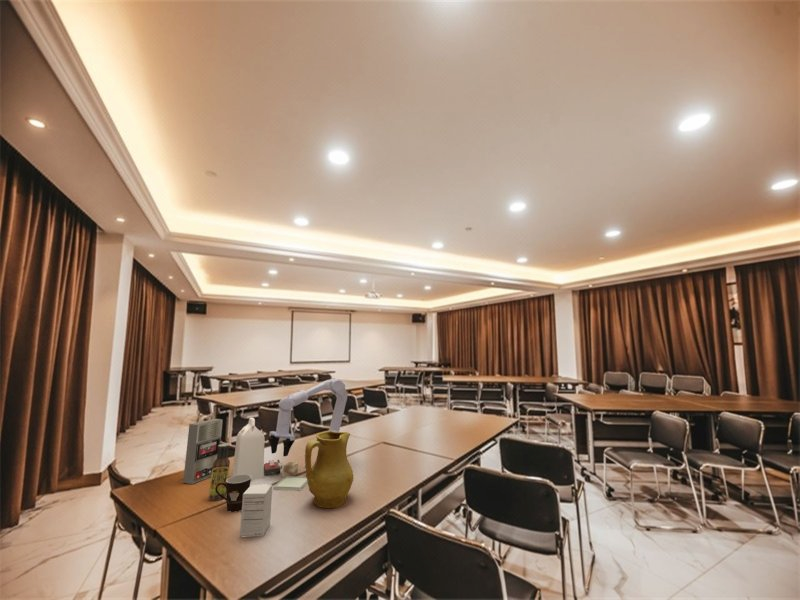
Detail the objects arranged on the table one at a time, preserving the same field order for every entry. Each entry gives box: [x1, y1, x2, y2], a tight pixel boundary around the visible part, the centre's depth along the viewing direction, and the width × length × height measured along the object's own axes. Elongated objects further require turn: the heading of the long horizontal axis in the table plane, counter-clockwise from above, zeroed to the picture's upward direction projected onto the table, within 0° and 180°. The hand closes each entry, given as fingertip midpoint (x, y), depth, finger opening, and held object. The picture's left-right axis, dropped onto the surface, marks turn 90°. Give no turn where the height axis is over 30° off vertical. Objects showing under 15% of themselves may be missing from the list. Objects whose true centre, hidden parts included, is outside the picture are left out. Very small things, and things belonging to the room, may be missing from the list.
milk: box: [231, 417, 265, 481], centre depth 152 cm, size 12×12×26 cm
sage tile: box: [272, 476, 308, 491], centre depth 141 cm, size 12×12×1 cm
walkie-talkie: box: [264, 459, 283, 477], centre depth 160 cm, size 9×4×20 cm
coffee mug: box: [215, 475, 252, 513], centre depth 120 cm, size 12×9×10 cm
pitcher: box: [304, 431, 354, 509], centre depth 126 cm, size 17×19×25 cm
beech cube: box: [282, 461, 299, 478], centre depth 152 cm, size 5×5×5 cm
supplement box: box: [239, 483, 273, 538], centre depth 104 cm, size 7×7×13 cm
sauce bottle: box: [208, 443, 231, 501], centre depth 129 cm, size 6×6×20 cm
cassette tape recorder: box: [182, 418, 223, 485], centre depth 150 cm, size 14×6×25 cm, turn 161°
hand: (279, 454), depth 149 cm, fingers open, 7 cm apart
